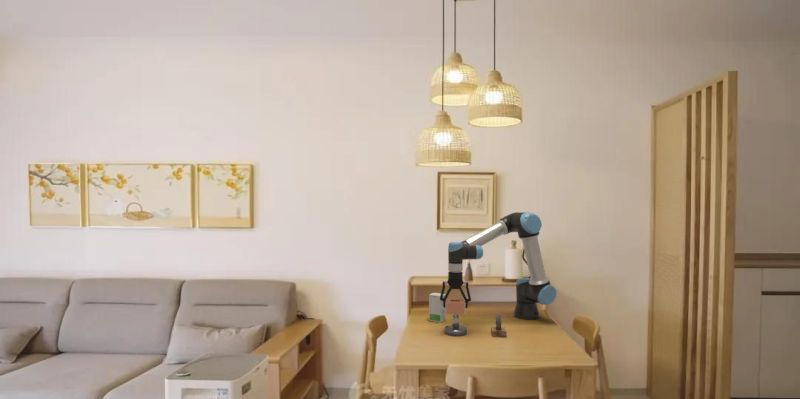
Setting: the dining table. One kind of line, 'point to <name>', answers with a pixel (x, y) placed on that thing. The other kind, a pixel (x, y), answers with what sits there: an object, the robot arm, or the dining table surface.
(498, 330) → the stand
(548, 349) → the dining table surface
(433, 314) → the skincare box
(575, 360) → the dining table surface
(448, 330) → the hub
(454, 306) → the pink square tube frame
